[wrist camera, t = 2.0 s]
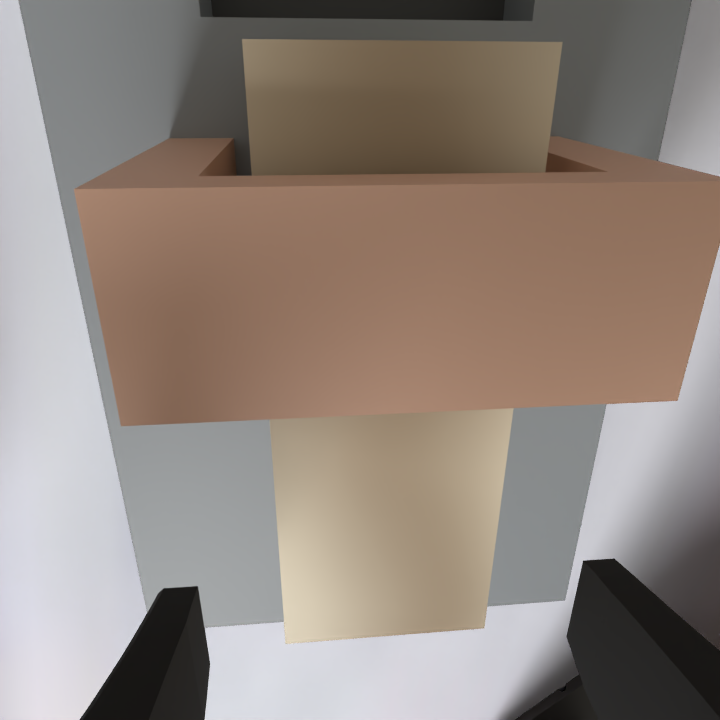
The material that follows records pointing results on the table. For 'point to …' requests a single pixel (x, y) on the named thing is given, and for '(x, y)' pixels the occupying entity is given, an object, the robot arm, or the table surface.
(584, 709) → the phone stand
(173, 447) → the deck
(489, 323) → the tunnel
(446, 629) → the block
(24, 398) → the table surface
